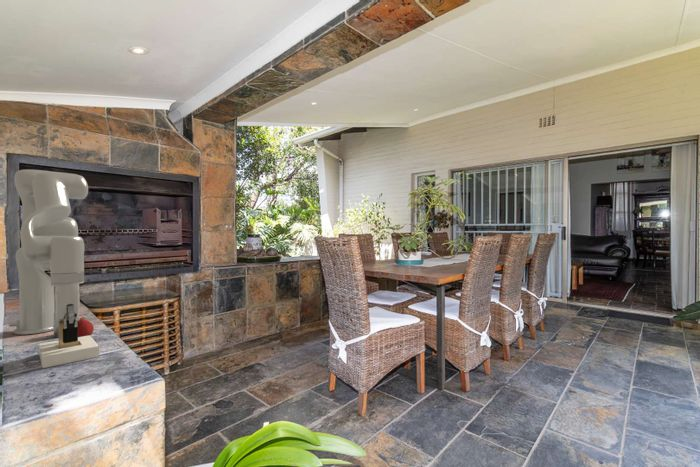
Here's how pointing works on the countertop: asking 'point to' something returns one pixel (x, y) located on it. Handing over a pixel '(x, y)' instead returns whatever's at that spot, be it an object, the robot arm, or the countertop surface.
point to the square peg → (61, 344)
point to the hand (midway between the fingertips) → (68, 338)
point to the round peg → (56, 327)
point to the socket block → (67, 352)
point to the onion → (84, 327)
